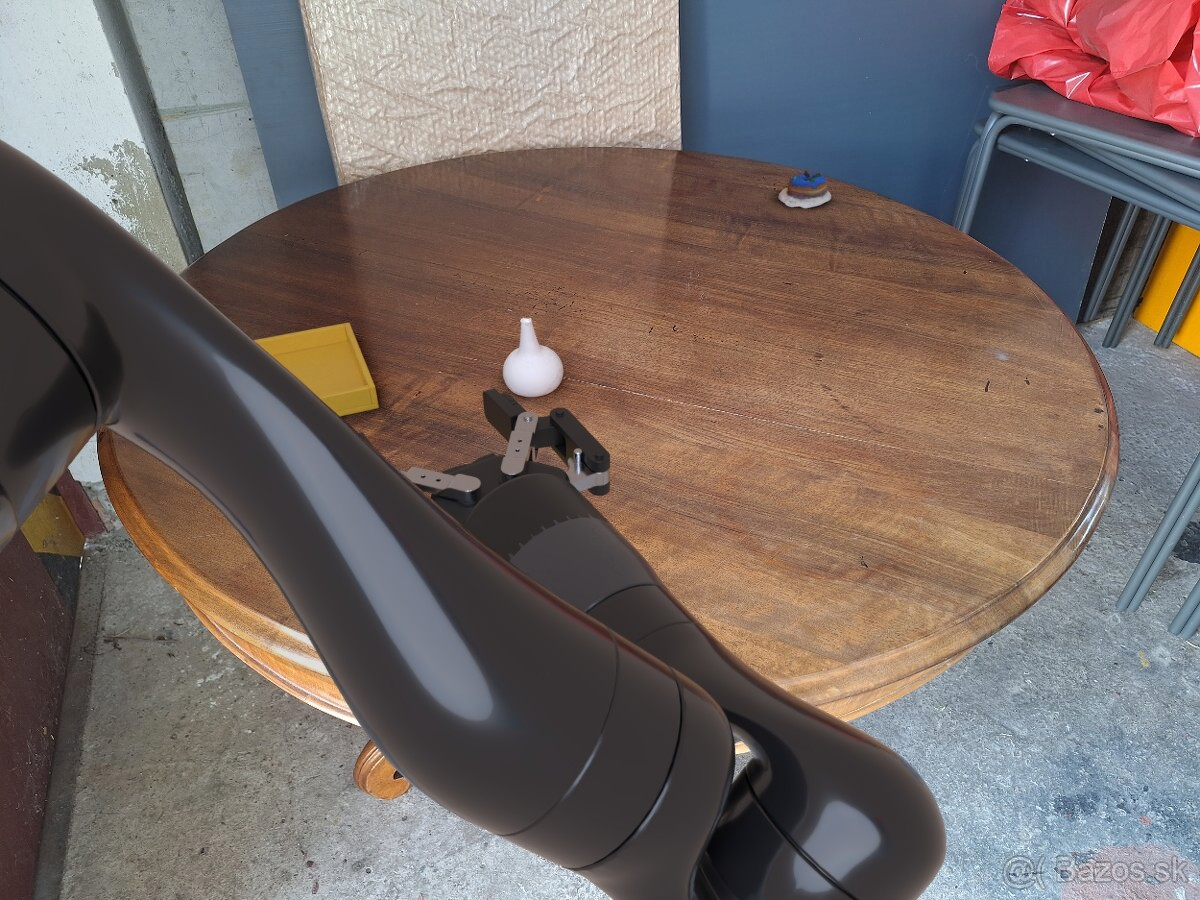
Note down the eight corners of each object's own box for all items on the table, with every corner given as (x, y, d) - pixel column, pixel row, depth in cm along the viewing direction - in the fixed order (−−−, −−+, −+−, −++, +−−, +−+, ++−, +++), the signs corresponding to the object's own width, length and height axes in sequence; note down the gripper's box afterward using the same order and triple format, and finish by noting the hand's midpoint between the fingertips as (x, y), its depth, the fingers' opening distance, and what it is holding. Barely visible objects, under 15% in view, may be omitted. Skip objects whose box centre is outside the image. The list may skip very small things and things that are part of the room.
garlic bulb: (573, 377, 95) (572, 310, 90) (545, 407, 91) (542, 338, 86) (522, 363, 97) (518, 297, 93) (492, 392, 93) (486, 324, 88)
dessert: (818, 182, 139) (829, 159, 133) (830, 218, 137) (842, 197, 131) (769, 189, 138) (779, 166, 132) (780, 226, 136) (791, 205, 130)
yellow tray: (231, 440, 86) (225, 418, 84) (220, 368, 96) (214, 347, 95) (379, 408, 90) (375, 386, 89) (353, 342, 101) (349, 322, 99)
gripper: (684, 474, 44) (524, 336, 55) (416, 588, 38) (295, 407, 49) (677, 582, 49) (530, 435, 59) (436, 700, 42) (321, 512, 53)
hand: (424, 423), depth 54 cm, fingers open, 8 cm apart
